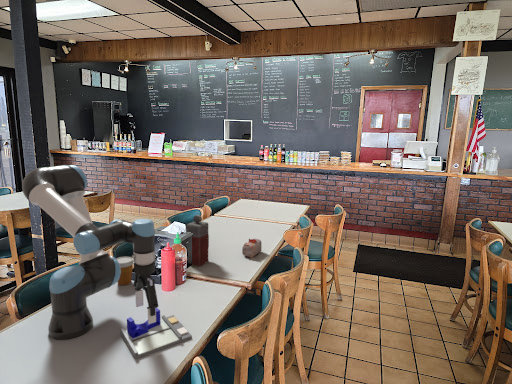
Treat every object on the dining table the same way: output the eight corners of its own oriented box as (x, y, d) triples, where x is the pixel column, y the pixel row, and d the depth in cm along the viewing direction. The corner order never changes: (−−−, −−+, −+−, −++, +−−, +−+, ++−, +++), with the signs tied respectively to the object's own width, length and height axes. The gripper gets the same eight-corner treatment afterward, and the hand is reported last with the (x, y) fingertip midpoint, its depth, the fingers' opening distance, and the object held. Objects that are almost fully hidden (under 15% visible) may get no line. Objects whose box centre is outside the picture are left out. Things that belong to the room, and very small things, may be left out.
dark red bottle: (210, 259, 204) (210, 213, 199) (199, 266, 194) (199, 218, 189) (198, 256, 208) (197, 211, 202) (186, 263, 198) (186, 215, 193)
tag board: (121, 334, 132) (120, 328, 131) (173, 317, 144) (173, 312, 143) (135, 359, 118) (135, 353, 118) (191, 338, 130) (191, 332, 130)
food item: (252, 259, 207) (253, 243, 205) (241, 256, 210) (241, 241, 208) (262, 252, 219) (263, 237, 217) (251, 249, 222) (251, 235, 220)
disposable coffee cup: (126, 276, 179) (124, 254, 177) (138, 281, 175) (137, 258, 172) (110, 283, 171) (108, 260, 169) (122, 288, 166) (121, 265, 164)
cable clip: (132, 338, 127) (132, 323, 126) (127, 333, 130) (126, 318, 129) (162, 326, 135) (162, 311, 134) (156, 321, 138) (156, 307, 137)
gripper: (123, 252, 135) (125, 302, 140) (145, 276, 116) (147, 333, 120) (143, 248, 140) (144, 297, 144) (167, 271, 120) (168, 327, 124)
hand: (145, 313), depth 132 cm, fingers open, 13 cm apart
